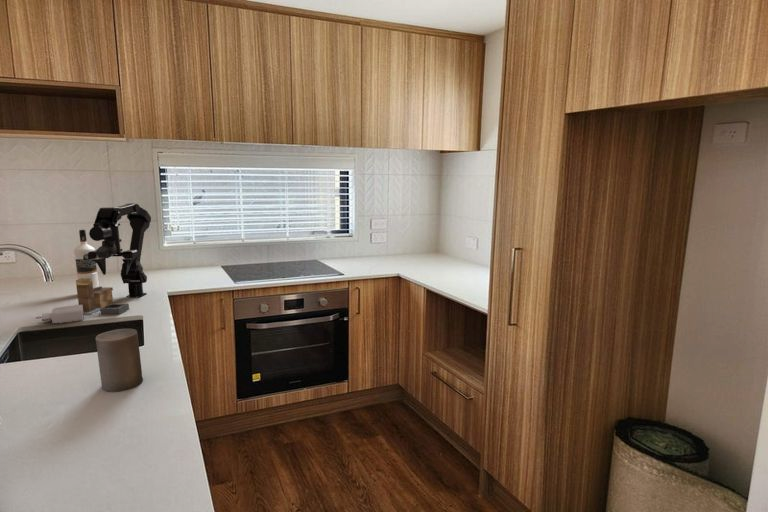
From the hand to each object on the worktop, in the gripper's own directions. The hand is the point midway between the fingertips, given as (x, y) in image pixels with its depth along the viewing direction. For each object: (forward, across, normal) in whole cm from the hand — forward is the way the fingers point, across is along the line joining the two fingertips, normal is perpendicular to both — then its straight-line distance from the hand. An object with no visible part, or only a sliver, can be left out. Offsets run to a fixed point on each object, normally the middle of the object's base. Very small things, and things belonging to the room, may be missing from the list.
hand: (115, 274), depth 207 cm
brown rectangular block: (+12, -6, -11) cm, 18 cm away
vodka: (+13, -24, +19) cm, 33 cm away
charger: (+14, -10, -23) cm, 28 cm away
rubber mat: (+13, -6, -11) cm, 18 cm away
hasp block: (+13, +5, -12) cm, 18 cm away
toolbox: (+13, -8, -2) cm, 15 cm away
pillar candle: (+13, +45, -80) cm, 93 cm away
